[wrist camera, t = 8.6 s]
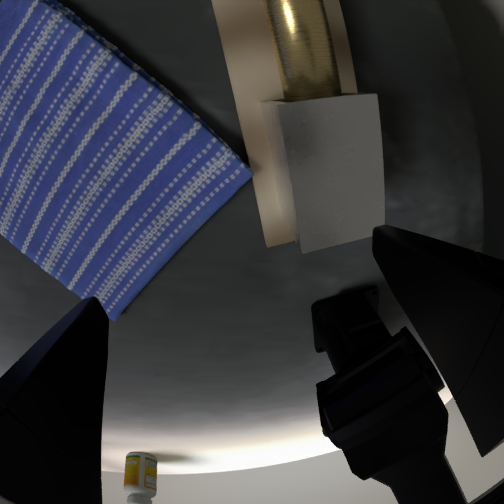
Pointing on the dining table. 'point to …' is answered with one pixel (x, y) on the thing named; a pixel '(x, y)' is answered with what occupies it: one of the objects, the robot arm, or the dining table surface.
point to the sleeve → (327, 167)
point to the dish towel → (98, 157)
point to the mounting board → (266, 91)
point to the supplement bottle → (140, 478)
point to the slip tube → (303, 49)
